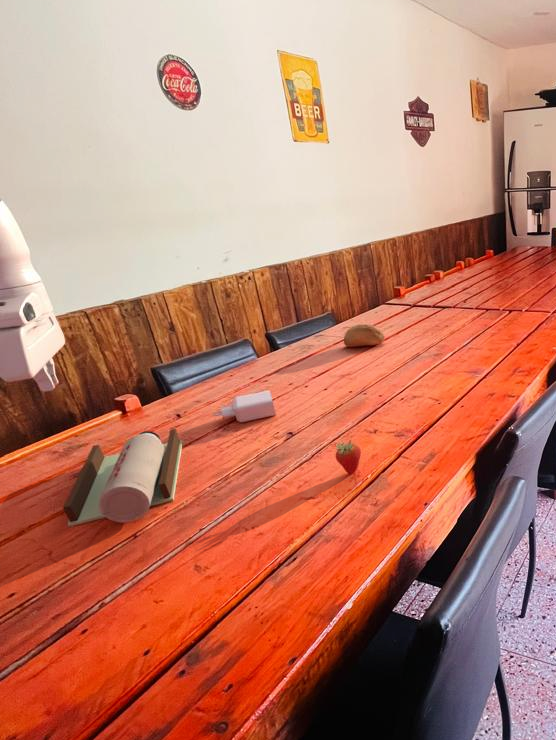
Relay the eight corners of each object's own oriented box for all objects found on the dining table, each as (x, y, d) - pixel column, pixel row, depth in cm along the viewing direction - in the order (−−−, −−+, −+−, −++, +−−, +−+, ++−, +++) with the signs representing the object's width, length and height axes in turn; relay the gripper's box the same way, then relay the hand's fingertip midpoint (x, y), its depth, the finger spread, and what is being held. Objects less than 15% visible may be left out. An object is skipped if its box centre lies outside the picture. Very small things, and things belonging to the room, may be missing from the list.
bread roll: (384, 347, 187) (381, 326, 183) (343, 351, 185) (339, 330, 182) (385, 339, 196) (382, 319, 192) (345, 343, 194) (342, 322, 190)
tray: (68, 527, 98) (59, 509, 96) (98, 460, 121) (91, 445, 119) (173, 500, 104) (167, 483, 102) (182, 442, 127) (177, 427, 125)
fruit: (335, 472, 111) (328, 440, 107) (357, 463, 114) (351, 431, 110) (346, 481, 107) (339, 448, 104) (368, 471, 110) (363, 439, 107)
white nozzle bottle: (215, 416, 140) (273, 404, 146) (216, 429, 132) (276, 416, 138) (210, 400, 138) (269, 388, 143) (211, 413, 130) (272, 400, 136)
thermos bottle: (108, 480, 93) (135, 419, 116) (91, 516, 94) (121, 448, 117) (156, 493, 97) (173, 431, 120) (139, 527, 98) (159, 459, 122)
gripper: (11, 294, 85) (45, 371, 91) (-42, 323, 68) (5, 415, 74) (56, 289, 87) (87, 365, 93) (17, 316, 70) (57, 406, 77)
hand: (50, 388), depth 84 cm, fingers closed
